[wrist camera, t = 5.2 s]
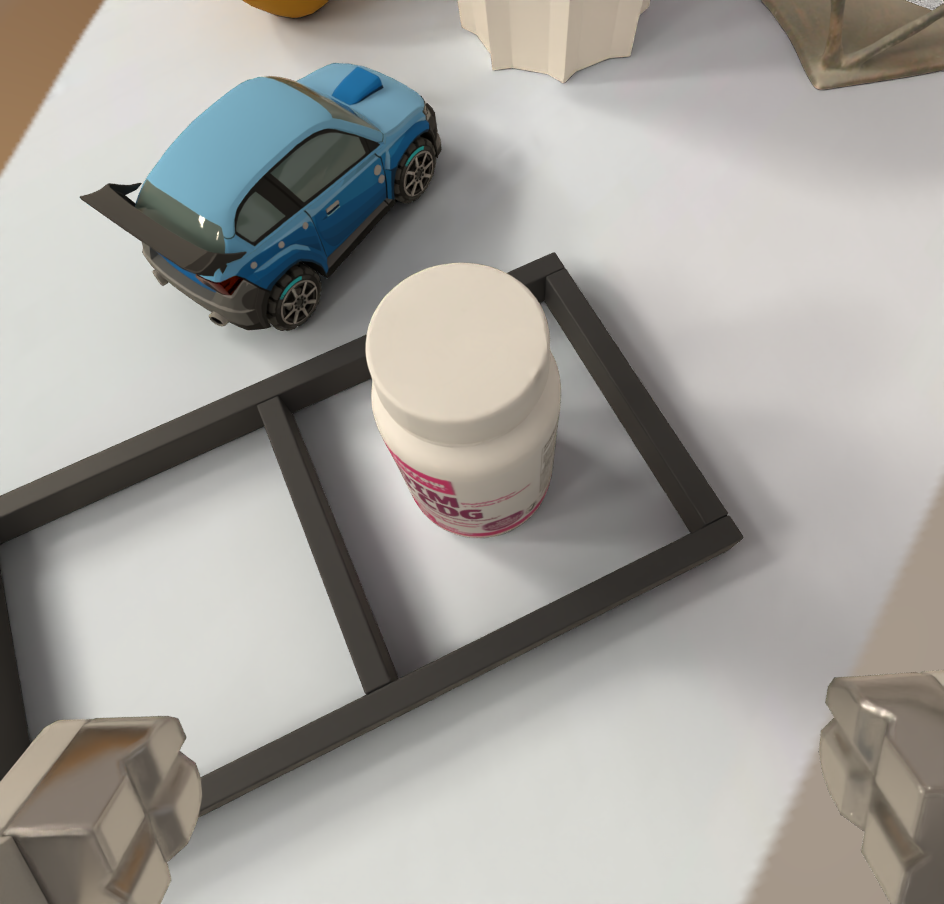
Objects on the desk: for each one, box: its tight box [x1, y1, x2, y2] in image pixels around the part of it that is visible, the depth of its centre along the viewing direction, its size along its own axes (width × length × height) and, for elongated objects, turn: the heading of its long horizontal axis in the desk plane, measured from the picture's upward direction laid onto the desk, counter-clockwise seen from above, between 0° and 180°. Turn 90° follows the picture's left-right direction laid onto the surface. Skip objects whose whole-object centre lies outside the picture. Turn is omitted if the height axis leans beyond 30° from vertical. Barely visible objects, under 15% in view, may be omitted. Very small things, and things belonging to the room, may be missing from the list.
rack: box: [0, 252, 743, 818], centre depth 20 cm, size 12×22×2 cm, turn 115°
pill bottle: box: [366, 263, 561, 538], centre depth 18 cm, size 5×5×8 cm
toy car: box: [80, 63, 441, 331], centre depth 23 cm, size 6×12×6 cm, turn 143°
